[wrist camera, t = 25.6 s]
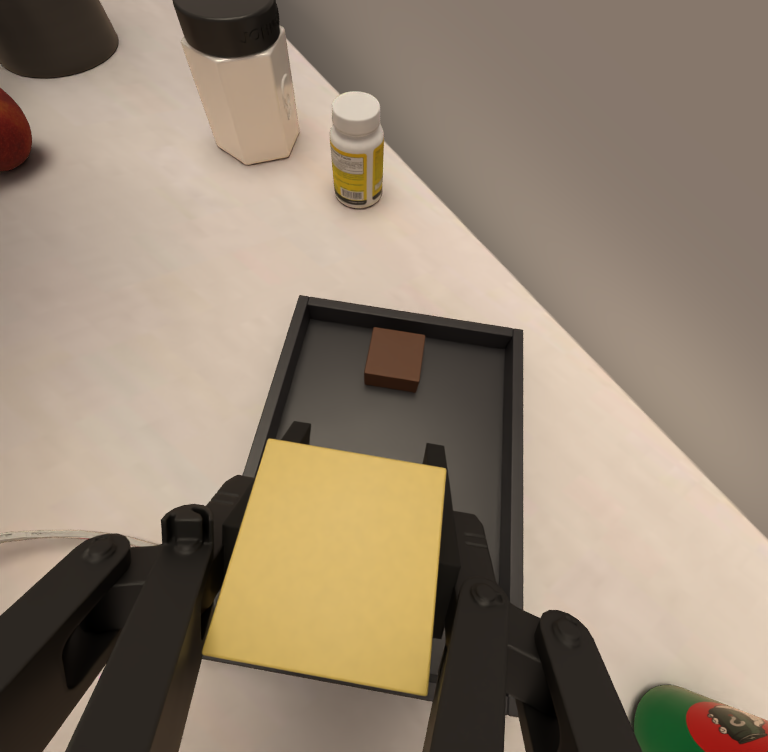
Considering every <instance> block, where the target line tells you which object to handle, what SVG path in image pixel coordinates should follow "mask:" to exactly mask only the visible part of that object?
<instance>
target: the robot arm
mask: <svg viewBox="0 0 768 752" xmlns="http://www.w3.org/2000/svg"><path fill="white" fill-rule="evenodd" d="M310 432H311V423H305V422H298V421H293V423H292V424H291V426H290V427H289V429H288V430H287V432H286V433H285V434H284V436H283V437H282V439H281V440H283V441H288V442H294V443H300V444H306V445H309V443H310ZM422 464H424V465H430V466H436V467H442V468H445V469H446V482H445V494H444V506H443V518H442V530H441V542H440V554H439V566H438V578H437V590H436V603H435V615H434V627H433V638H436V639H442V635H443V631H444V628H445V637H446V643H445V646H444V650H443V654H442V657H441V661H440V665H439V668H438V672H437V673H438V678H437V683H436V688H435V693H434V698H433V703H432V708H431V713H430V717H429V722H428V727H427V732H426V737H425V742H424V747H423V752H504V730H505V705H506V693H507V694H509V695H510V696H512V697H514V698H515V701H516V706H517V711H518V716H519V721H520V726H521V731H522V736H523V740H524V745H525V750H526V752H642V750H641V747H640V745H639V743H638V740H637V738H636V736H635V733H634V731H633V729H632V727H631V724H630V722H629V720H628V717H627V715H626V713H625V710H624V708H623V706H622V704H621V701H620V699H619V697H618V694H617V692H616V690H615V688H614V685H613V683H612V681H611V678H610V676H609V674H608V671H607V669H606V667H605V665H604V662H603V660H602V658H601V655H600V653H599V651H598V648H597V646H596V644H595V642H594V639H593V637H592V636H591V634H590V632H589V631H588V629H587V628H586V627H585V626H584V625H583V624H582V623H581V622H580V621H579V620H578V619H576V618H574V617H573V616H571V615H570V614H568V613H565V612H562V611H559V610H549V611H547V612H545V613H543V614H542V616H541V618H539V617H536V616H534V615H532V614H530V613H528V612H525V611H523V610H521V609H520V608H518V607H516V606H515V605H513V604H512V603H511V602H509V601H508V597H507V595H506V594H505V592H504V590H503V589H502V588H501V587H500V586H499V585H498V584H497V582H496V578H495V573H494V569H493V565H492V561H491V556H490V552H489V548H488V544H487V540H486V535H485V531H484V527H483V524H482V523H481V522H480V520H479V519H478V518H477V516H476V515H475V514H470V513H464V512H458V511H453V505H452V498H451V491H450V483H449V476H448V469H447V462H446V454H445V447H444V446H443V445H437V444H431V443H427V444H426V449H425V453H424V458H423V463H422ZM255 479H256V476H255V478H253V477H247V476H242V475H236V476H234V477H233V478H231V479H229V480H228V481H226V482H225V483H224V484H223V485H222V487H221V488H220V489H219V490H218V492H217V493H216V494H215V495H214V497H213V498H212V499H211V501H210V502H209V503H208V504H207V505H206V506H204V505H198V504H190V505H183V506H180V507H177V508H174V509H173V510H171V511H170V512H168V513H166V515H165V516H164V517H163V518H162V519H161V528H162V544H160V545H154V546H143V547H130V541H129V540H128V539H127V537H126V536H123V535H120V534H103V535H98V536H95V537H93V538H90V539H88V540H86V541H84V542H83V543H81V544H80V545H78V546H77V547H76V548H74V549H73V550H72V551H71V552H70V553H69V554H68V555H67V556H66V557H65V558H63V559H62V560H61V561H60V562H59V563H58V564H57V565H56V566H55V567H54V568H53V569H51V570H50V571H49V572H48V573H47V574H46V575H45V576H44V577H43V578H42V579H40V580H39V581H38V582H37V583H36V584H35V585H34V586H33V587H32V588H31V589H29V590H28V591H27V592H26V593H25V594H24V595H23V596H22V597H21V598H20V599H18V600H17V601H16V602H15V603H14V604H13V605H12V606H11V607H10V608H9V609H7V610H6V611H5V612H4V613H3V614H2V615H1V616H0V752H43V750H44V749H45V747H46V746H47V745H48V743H49V742H50V741H51V739H52V738H53V736H54V735H55V734H56V732H57V731H58V730H59V728H60V727H61V725H62V724H63V723H64V721H65V720H66V718H67V717H68V716H69V714H70V713H71V712H72V710H73V709H74V707H75V706H76V705H77V703H78V702H79V701H80V699H81V698H82V696H83V695H84V694H85V692H86V691H87V689H88V688H89V687H90V685H91V684H92V683H93V681H94V680H95V678H96V677H97V676H98V674H99V673H100V671H101V670H102V669H103V667H104V666H105V665H106V666H105V668H104V670H103V672H102V674H101V676H100V678H99V681H98V683H97V685H96V687H95V689H94V691H93V693H92V695H91V698H90V700H89V702H88V704H87V706H86V708H85V710H84V713H83V715H82V717H81V719H80V721H79V723H78V725H77V727H76V730H75V732H74V734H73V736H72V738H71V740H70V742H69V745H68V747H67V749H66V751H65V752H178V751H179V747H180V743H181V739H182V736H183V732H184V728H185V724H186V720H187V716H188V712H189V708H190V704H191V700H192V696H193V692H194V688H195V684H196V680H197V676H198V672H199V668H200V664H201V660H202V656H203V654H202V649H203V646H204V643H205V639H206V636H207V633H208V630H209V627H210V623H211V620H212V617H213V613H214V599H215V597H216V596H217V594H218V592H219V590H220V589H221V587H222V585H223V581H224V578H225V575H226V572H227V569H228V565H229V562H230V559H231V556H232V553H233V549H234V546H235V543H236V540H237V536H238V533H239V530H240V527H241V524H242V520H243V517H244V514H245V511H246V507H247V504H248V501H249V498H250V495H251V491H252V488H253V485H254V482H255Z"/></svg>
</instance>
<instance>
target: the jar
mask: <svg viewBox="0 0 768 752" xmlns="http://www.w3.org/2000/svg"><path fill="white" fill-rule="evenodd" d="M173 5H174V7H175V10H176V13H177V16H178V19H179V22H180V25H181V28H182V31H183V34H184V38H183V39H182V40H181V44H182V47H183V50H184V53H185V56H186V59H187V61H188V64H189V67H190V70H191V73H192V76H193V78H194V81H195V84H196V87H197V90H198V93H199V96H200V98H201V101H202V104H203V107H204V110H205V113H206V115H207V118H208V121H209V124H210V127H211V130H212V133H213V135H214V138H215V141H216V144H217V146H218V147H220V148H221V149H223V150H224V151H226V152H227V153H229V154H230V155H232V156H233V157H235V158H236V159H238V160H239V161H241V162H242V163H244V164H245V165H250V164H255V163H260V162H265V161H270V160H275V159H280V158H286V157H288V156H289V155H290V152H291V150H292V148H293V145H294V143H295V140H296V138H297V136H298V133H299V131H300V129H299V123H298V116H297V109H296V103H295V96H294V89H293V83H292V76H291V69H290V63H289V56H288V49H287V43H286V36H285V30H284V28H283V27H281V26H280V25H279V13H278V8H277V4H276V0H173Z"/></svg>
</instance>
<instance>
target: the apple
mask: <svg viewBox="0 0 768 752" xmlns="http://www.w3.org/2000/svg"><path fill="white" fill-rule="evenodd" d="M31 146H32V135H31V130H30V126H29V123H28V121H27V119H26V117H25V115H24V113H23V112H22V110H21V108H20V107H19V106H18V105H17V103H16V102H15V101H14V100H13V99H12V98H11V97H10V96H9V95H8V94H7V93H6V92H4V91H3V90H2V89H1V88H0V172H2V171H8V170H11V169H13V168H16V167H18V166H19V165H21V164H22V163H23V162H24V161H25V160H26V159H27V157H28V156H29V154H30V151H31Z"/></svg>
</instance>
